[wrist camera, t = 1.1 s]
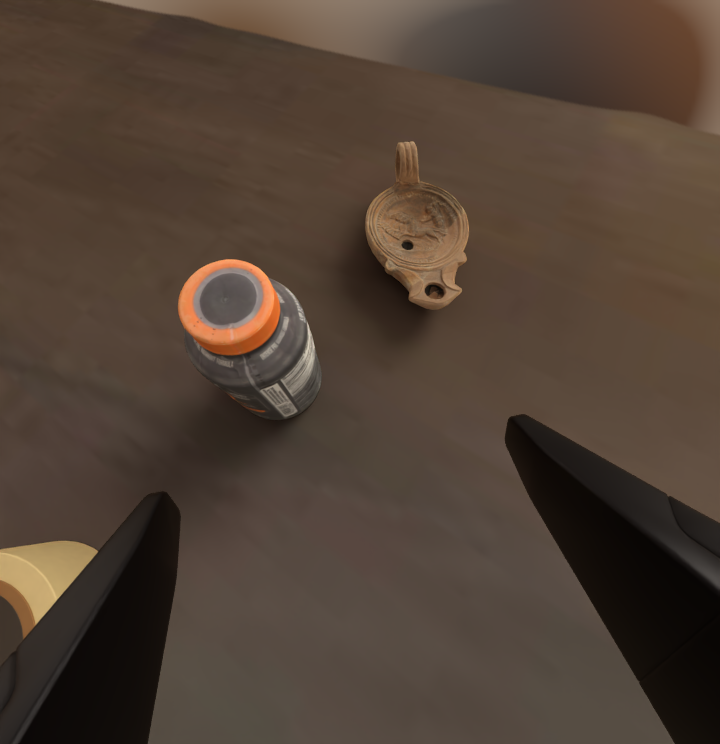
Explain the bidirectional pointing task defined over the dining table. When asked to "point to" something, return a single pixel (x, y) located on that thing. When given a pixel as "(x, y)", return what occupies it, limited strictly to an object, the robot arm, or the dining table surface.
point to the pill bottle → (250, 339)
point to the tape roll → (34, 585)
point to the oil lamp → (418, 233)
